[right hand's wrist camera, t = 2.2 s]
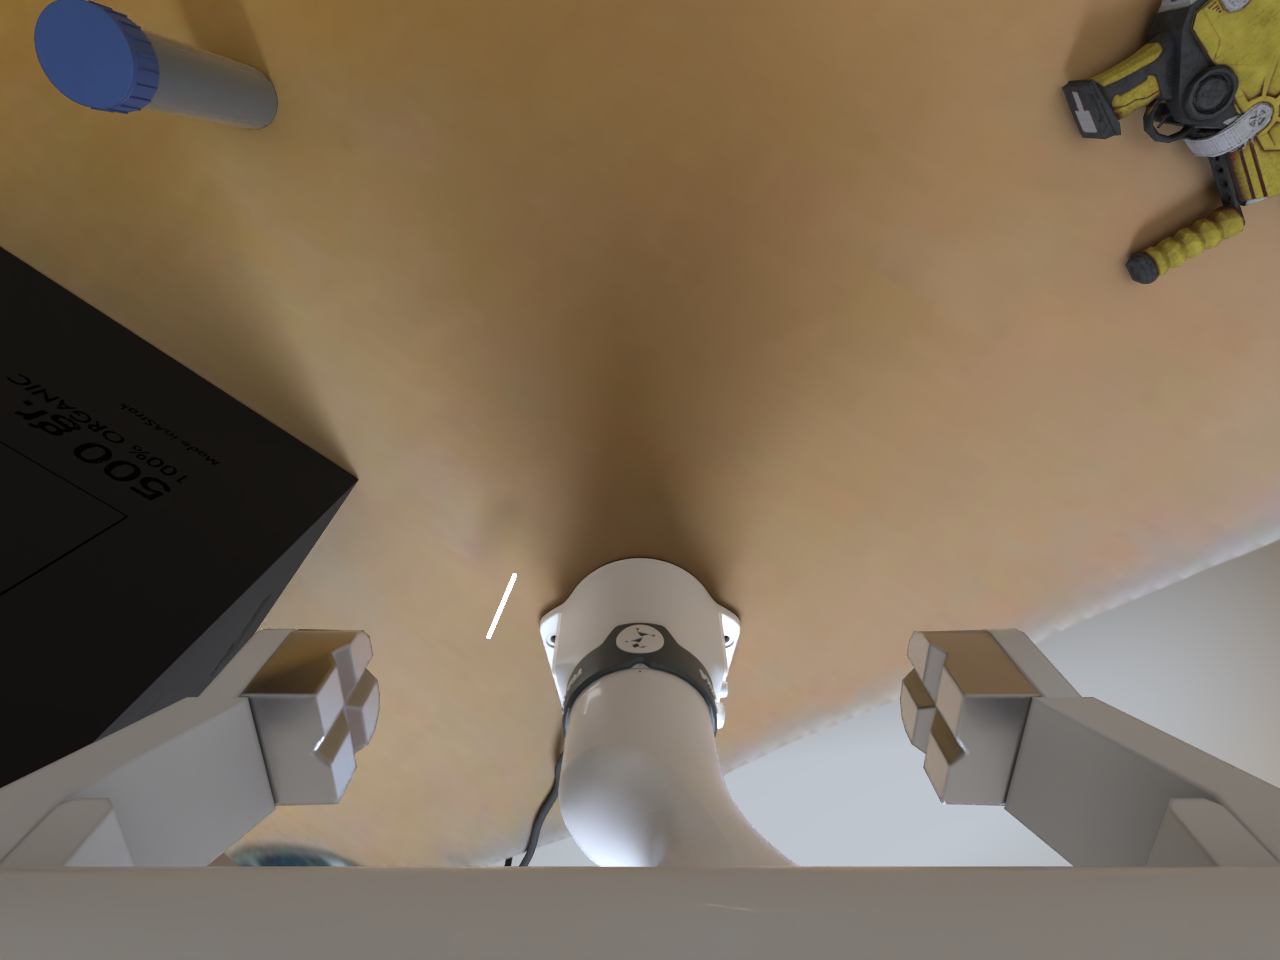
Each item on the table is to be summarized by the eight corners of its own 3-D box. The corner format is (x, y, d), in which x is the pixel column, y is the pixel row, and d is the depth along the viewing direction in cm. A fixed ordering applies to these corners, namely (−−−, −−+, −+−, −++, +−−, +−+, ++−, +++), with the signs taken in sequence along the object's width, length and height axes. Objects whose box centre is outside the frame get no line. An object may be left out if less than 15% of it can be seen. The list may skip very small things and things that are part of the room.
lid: (114, 132, 39) (85, 128, 37) (45, 42, 37) (11, 33, 35) (180, 80, 38) (154, 73, 36) (112, -13, 36) (81, -26, 34)
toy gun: (1214, 370, 54) (1424, 223, 49) (1043, 128, 47) (1268, -75, 42) (1175, 351, 58) (1364, 214, 53) (1012, 127, 51) (1213, -57, 46)
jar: (246, 140, 51) (91, 117, 37) (207, 85, 50) (30, 39, 35) (289, 109, 51) (148, 72, 36) (251, 52, 49) (88, -10, 35)
